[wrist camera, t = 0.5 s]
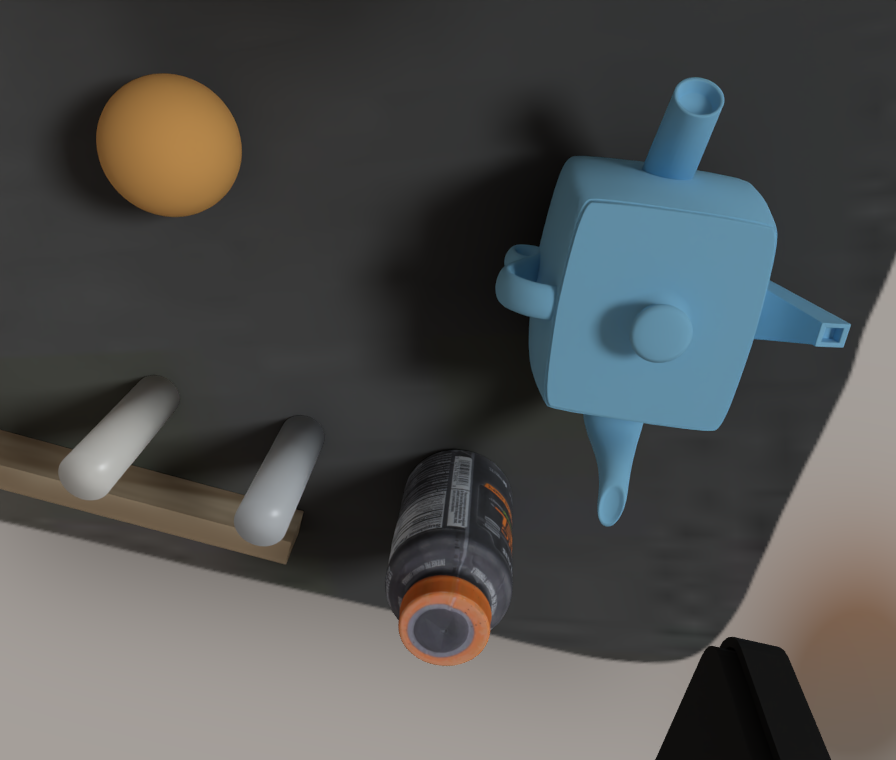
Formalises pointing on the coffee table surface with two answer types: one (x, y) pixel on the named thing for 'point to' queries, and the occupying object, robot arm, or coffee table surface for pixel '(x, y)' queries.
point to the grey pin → (280, 482)
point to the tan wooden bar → (138, 498)
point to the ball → (169, 145)
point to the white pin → (118, 438)
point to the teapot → (653, 291)
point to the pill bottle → (451, 557)
